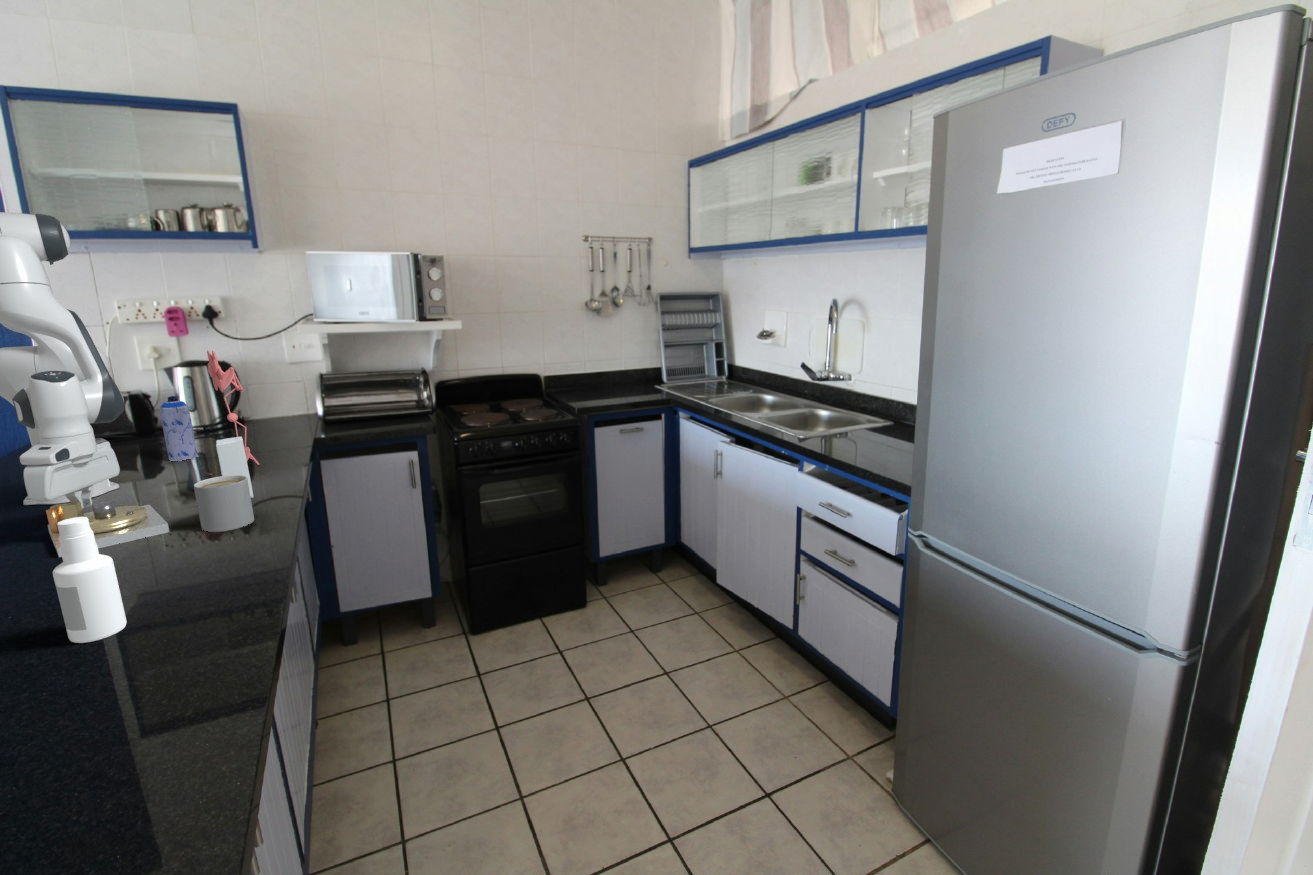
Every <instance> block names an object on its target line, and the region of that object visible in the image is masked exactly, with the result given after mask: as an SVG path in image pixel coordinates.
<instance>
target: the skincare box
mask: <svg viewBox="0 0 1313 875" xmlns="http://www.w3.org/2000/svg"><path fill="white" fill-rule="evenodd" d="M215 441H216V442H215V443H216V444H215V447H216V448H215V450H216V453H217V456H218V457H217V459H218V463H219V464H218V465H219V469H220V475H221V476H228V475H243V476H246V477H247V479H248V485H249V491H250V497H251V499H252V498H254V492H253V486H252V485H253V484H252V481H251V476H250V471H249V466H248V461H247V459H246V454H245V449H244V448H245V442H244V439H243V437H242V436H238V437H237V436H236V437H235V436H234V437H228V438H222V439H221V438H220V439H216V440H215Z"/></svg>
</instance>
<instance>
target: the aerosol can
mask: <svg viewBox="0 0 1313 875" xmlns="http://www.w3.org/2000/svg"><path fill="white" fill-rule="evenodd" d="M159 414H160V420H161V426H162V431H163V435H164V436H163V437H164V441H165V445H166V446H165V447H166V451H167V457H168V459H169V460H170V461H169V462H171V461H178V462H183V461H182V460H186V459H192V460H194V459H193V458H195V457H198V458H199V454H198V450H197V446H196V445H197V444H196V438H195V433H194V428H193V424H192V419H191V412H190V407H189V405H188V404H187V403H186V402H185V401H182V400H180V399H178V397H177V396H176V395H171V396H167V401H165V402H164V403H162V404H161V406H159ZM195 459H196V458H195Z"/></svg>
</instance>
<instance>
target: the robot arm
mask: <svg viewBox="0 0 1313 875" xmlns="http://www.w3.org/2000/svg"><path fill="white" fill-rule="evenodd" d="M70 248H71V239H70V235H69V232H68V231H67V230H66V228H65V226H64V225H63V224H62V223H61V220H59V219H57V218H56V217H55V216H53V215H48V214H43V213H35V214H31V213H20V212H8V211H5V212H4V211H3V212H2V211H0V325H2V326H3V327H4V328H6V329H8V330H11V331H12V332H15V333H20V334H23V335H25V336H27V337H29V338H30V339H32V340H33V341H34V342H35V343H36V345H31V346H30V345H29V346H27V345H26V346H24V345H23V346H6V347H5V346H4V347H0V397H1V398H3V399H5V400H6V401H7V402H9V403H10V404H11V405H12V406H13V407H14V410H15V414H16V420H17V422H18V423H19V424H21V425H23V426H25V427H26V431H27V433H28V437H29V441H30V445H31V446H30V448H29V449H28V450H27V451H25V452H23V453H21V455H20V456H19V462H20V464H21V465H22V466H25V467H24V469H23V480H24V481H23V482H24V485H25V486H24V487H25V490H26V493H27V496H26V497H25V498H24V499H23V505H24V506H30V505H31V506H32V505H55V504H64V503H75V502H80V504H81V508H82V510H83V509H86V508H89V507H92V505H93V500H92V498H95V497H98V496H101V495H103V494H106V493H109V492H111V491H114V490H118V489H119V488H120V485H119V483H116V482H113V481H110V480H109V479H113V478H115V477H118V476H119V474H120V471H121V468H120V465H119V461H118V458H117V455H116V453H115V451H114V449H113V448H112V446H111V443H110V442H109V441H108V440H106V439H104V437H103V438H102V437H99V438H97V439H96V437H95V434H94V433H95V432H94V429H93V427H92V425H91V424H105V423H106V424H107V423H108V424H109V423H112V422H114V421H115V420H116V419H118V418H119V416H121V415H122V414H123V412H124V411H125V406H126V405H125V398H124V396H123V394H122V392H121V391H120V389H119V387H118V386H117V384H116V382H115V380H114V379H113V377H112V376H111V374H110V372H111V363H110V360H109V357H108V356H107V354H106V353H105V352H104V351H103V350H101V349H100V348H99V347H97V346H96V345H95V343H94V340H93V338H92V336H91V335H90V333H89V331H88V329H87V328H86V326H85V324H84V322H83V321H82V319H81V318H80V316H79V315H78V314H77V313H76V312H75V311H73V310H71V309H68V308H66V307H64V306H63V304H62V303H61V302H60V301H58V299H57V298H56V297H55V294H54V292H53V289H52V285H51V282H50V280H49V277H48V274H47V271H46V269H45V267H44V264H43V262H49V266H52V265H54V263H55V262H59V261H62V260H64V259H65V258H66V257H67V256H68V255H69V251H70Z"/></svg>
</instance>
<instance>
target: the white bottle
mask: <svg viewBox="0 0 1313 875" xmlns="http://www.w3.org/2000/svg"><path fill="white" fill-rule="evenodd" d="M57 525H58V529H59V538H58V539H59V543H60V547H61V554H62V557H61V558H62V562H61V563H60V564H58V565H56V567H55V568H54V569H53V571H52V577H53V581H54V584H55V588H56V592H57V597H58V601H59V605H60V609H61V613H62V616H63V622H64V624H65V628H66V629H65V630H66V633H67V637H68V639H69V641H70V642H71V643H74V644H77V643H78V644H84V643H91V642H95V641H100V640H103V639H106V638H110V637H111V636H113V635H116V634H118V633H119V632H121V631H122V630H123V629H125V627H126V625H127V623H128V622H127V617H126V612H125V608H124V604H123V600H122V599H123V598H122V595H121V589H120V587H119V581H118V576H117V573H116V572H117V571H116V568H115V564H114V560H113V558H112V557H111V556H110V555H106V554H101V553H100V552H99V551H100V550H99V548H98V547H97V544H96V542H95V537H94V533H93V531H92V530H91V528H90V524H89V520H88V518H87V517H75V518H70V519H66V520H63V521H60V522H58V523H57Z"/></svg>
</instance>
